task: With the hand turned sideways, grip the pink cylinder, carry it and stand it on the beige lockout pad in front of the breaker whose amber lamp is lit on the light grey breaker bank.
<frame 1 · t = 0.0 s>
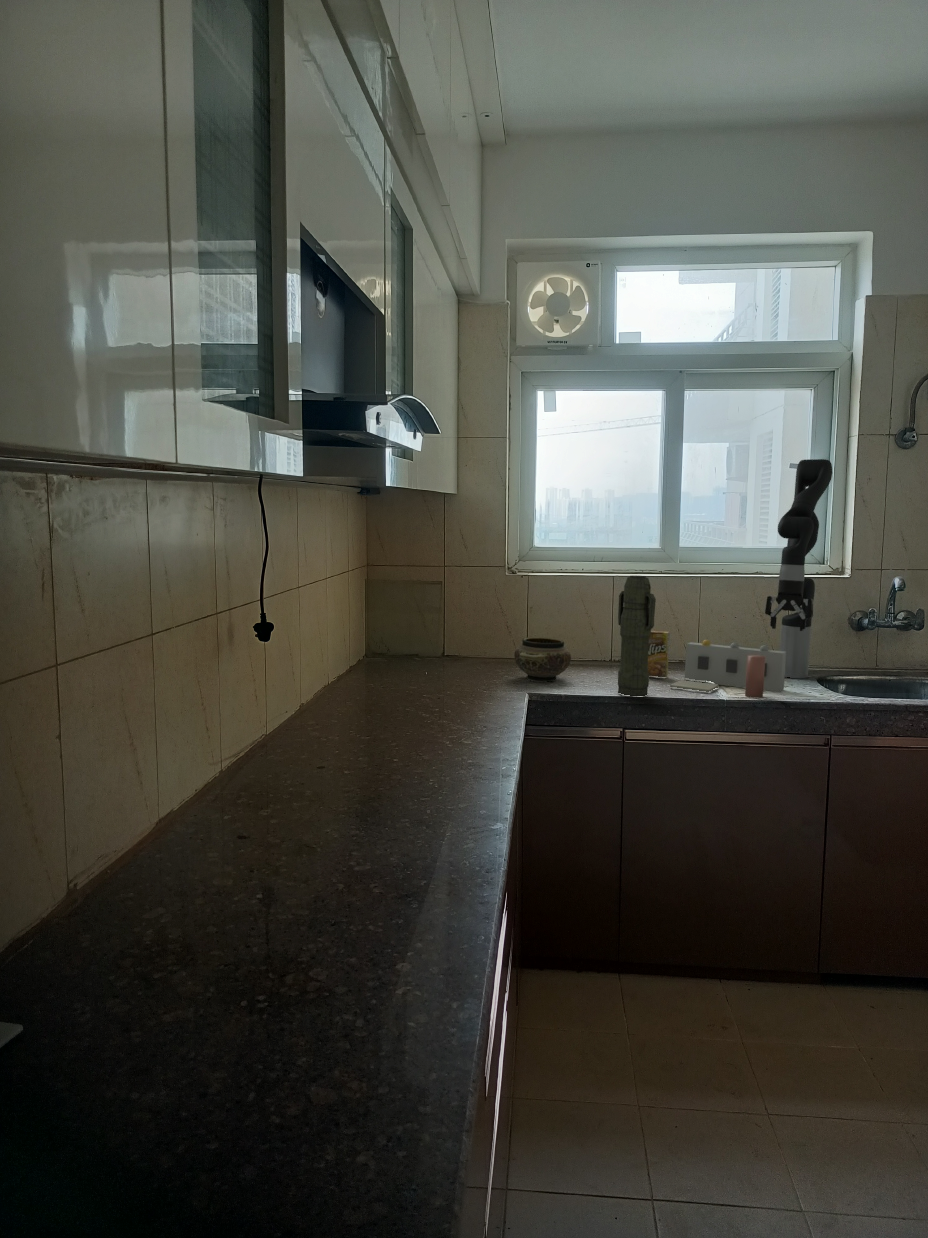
hand: (787, 629, 277), 17 cm above the countertop, tool pointing down, fingers open, 8 cm apart
ceramic bowl: (541, 680, 276), on the countertop
breaker bank: (732, 685, 273), on the countertop
thermos: (632, 694, 256), on the countertop
candy box: (653, 678, 284), on the countertop
lockout pad: (694, 688, 266), on the countertop
pink cylinder: (753, 696, 256), on the countertop
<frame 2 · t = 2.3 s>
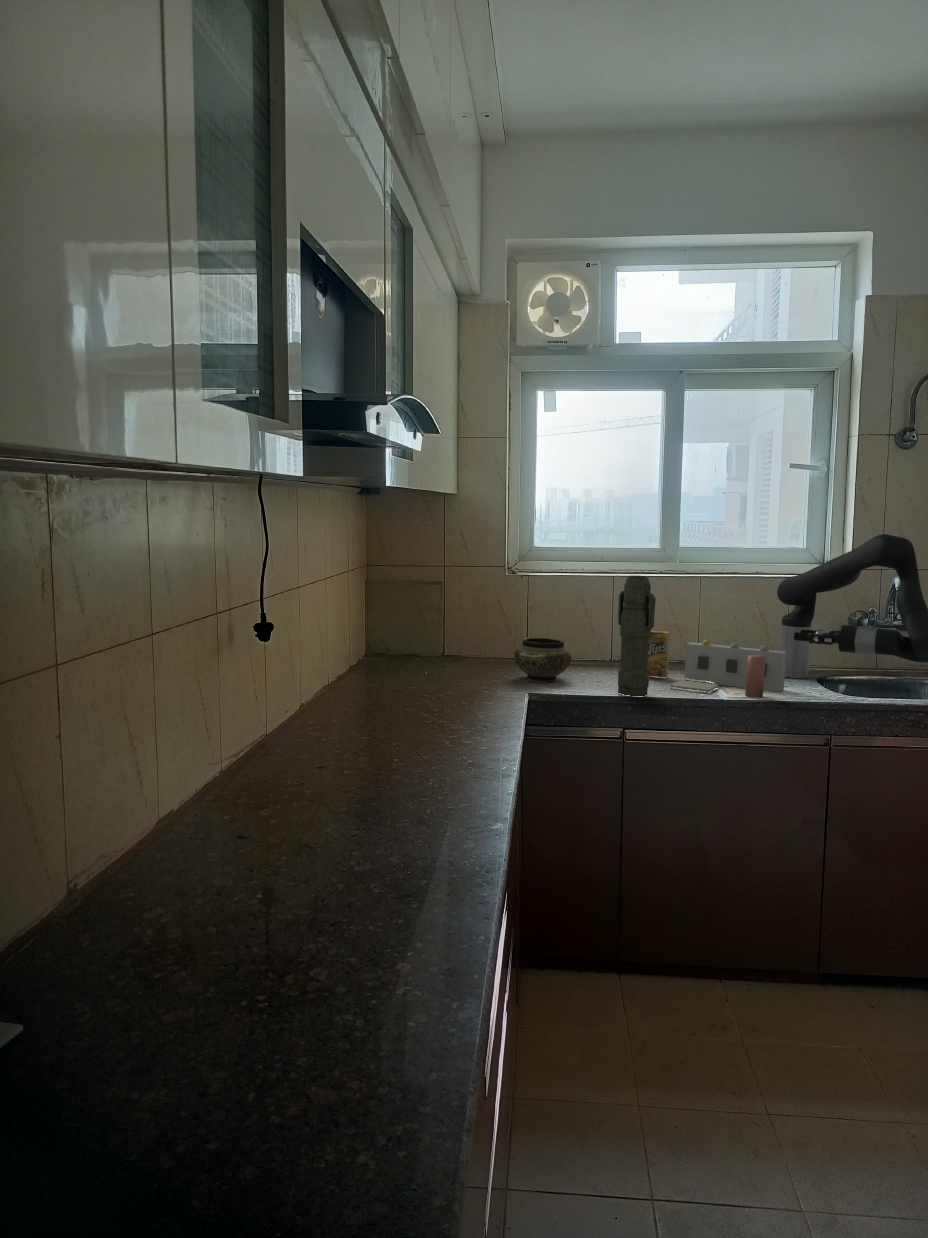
hand: (797, 634, 248), 19 cm above the countertop, tool horizontal, fingers open, 8 cm apart
nothing on the countertop moved.
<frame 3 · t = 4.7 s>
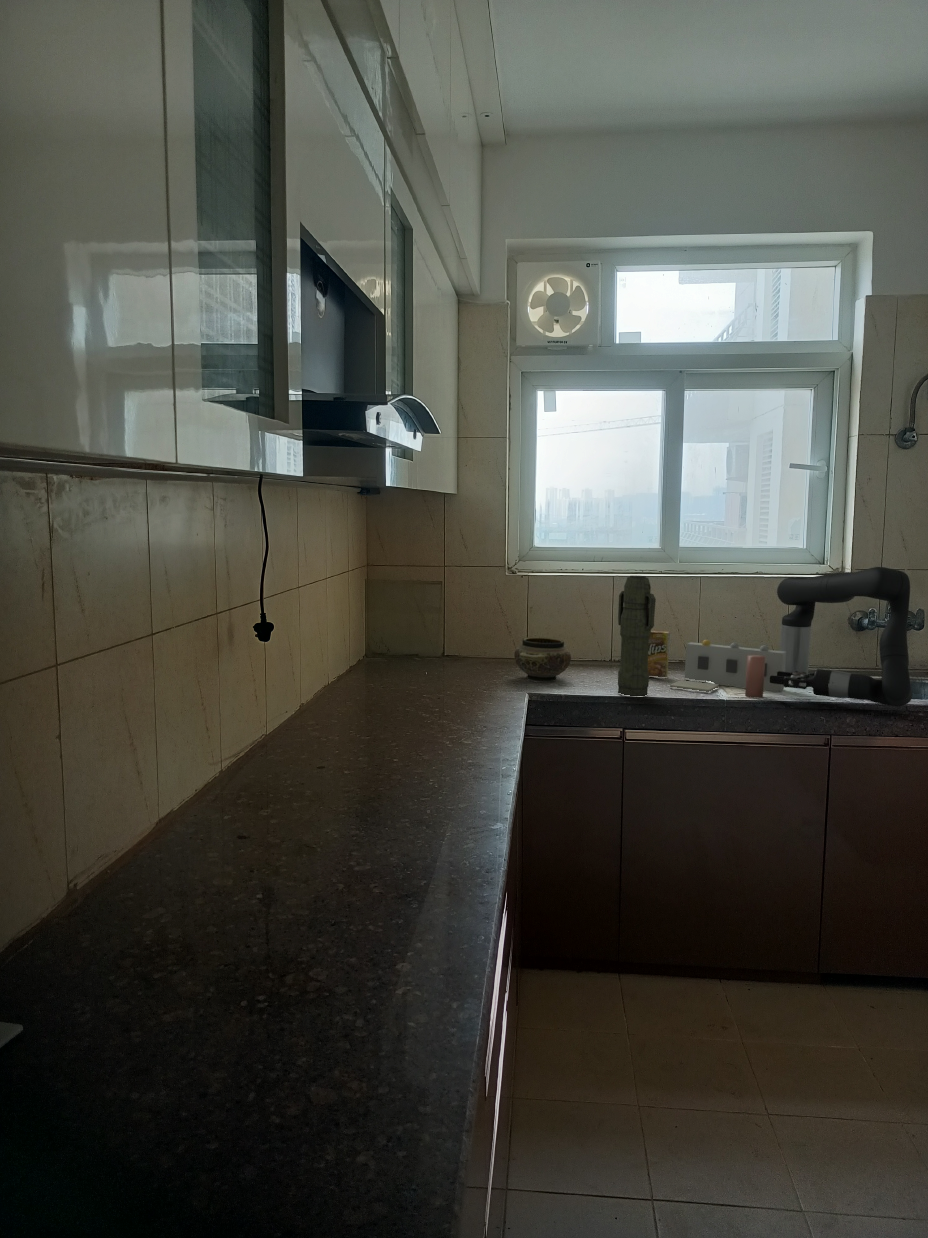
hand: (773, 677, 253), 6 cm above the countertop, tool horizontal, fingers open, 8 cm apart
nothing on the countertop moved.
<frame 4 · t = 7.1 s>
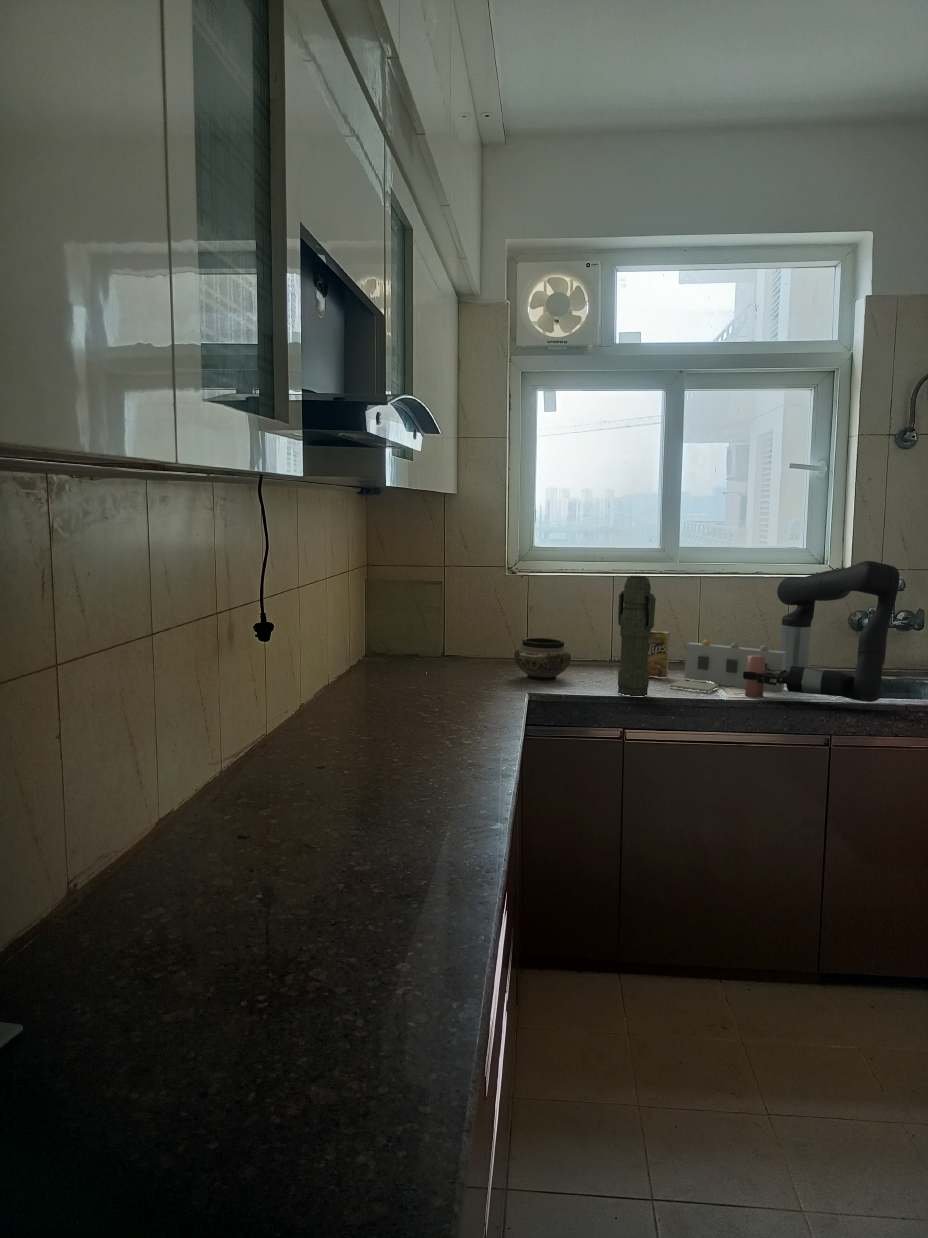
hand: (746, 673, 257), 7 cm above the countertop, tool horizontal, fingers closed on pink cylinder, 5 cm apart
pink cylinder: (753, 696, 256), on the countertop, touching gripper
everything else where it was.
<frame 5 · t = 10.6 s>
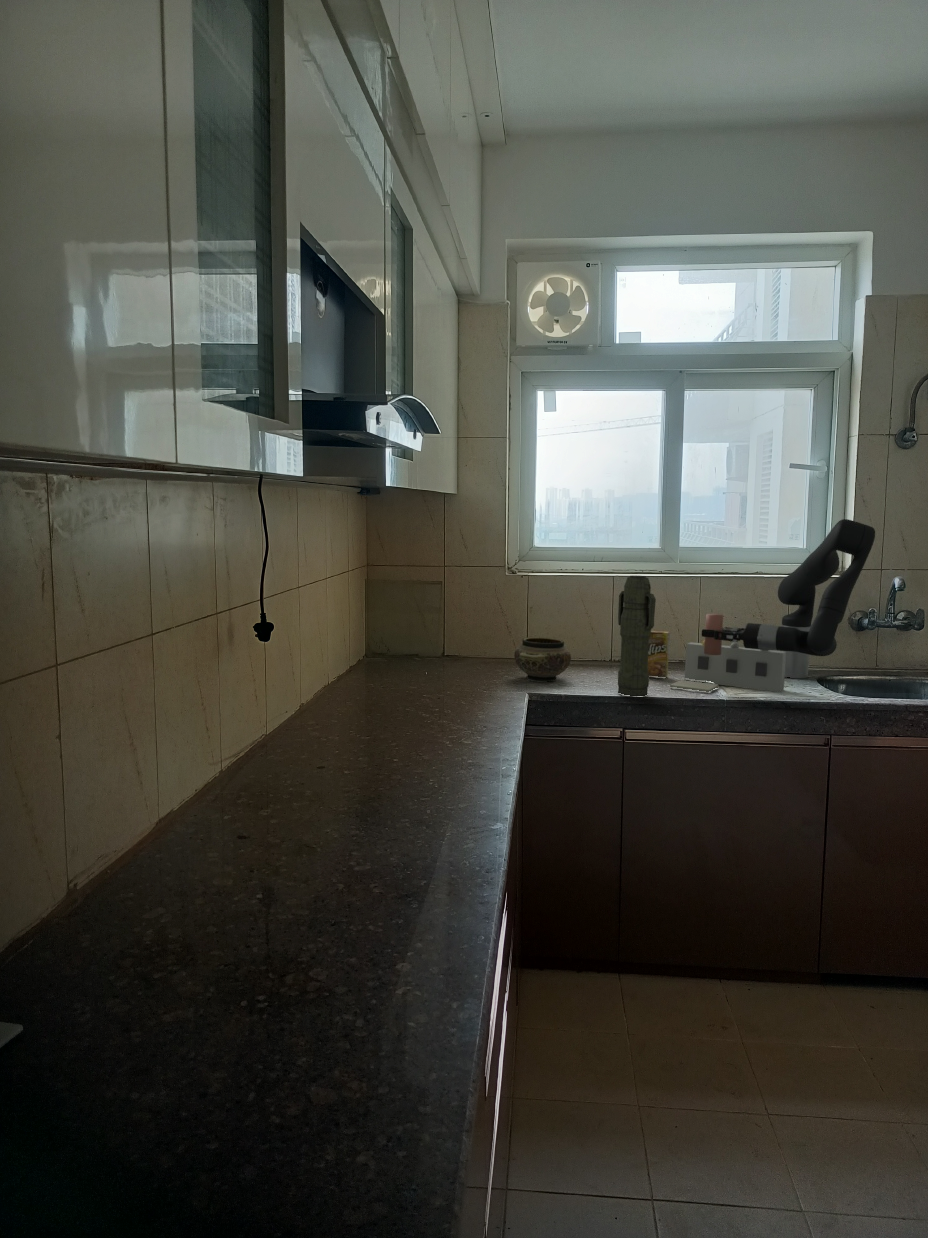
hand: (705, 631, 262), 18 cm above the countertop, tool horizontal, fingers closed on pink cylinder, 5 cm apart
pink cylinder: (712, 653, 262), point 11 cm above the countertop, touching gripper
everything else where it was.
when the fingers open (9 cm above the countertop, at t = 14.1 s): pink cylinder drops 1 cm, resting on lockout pad.
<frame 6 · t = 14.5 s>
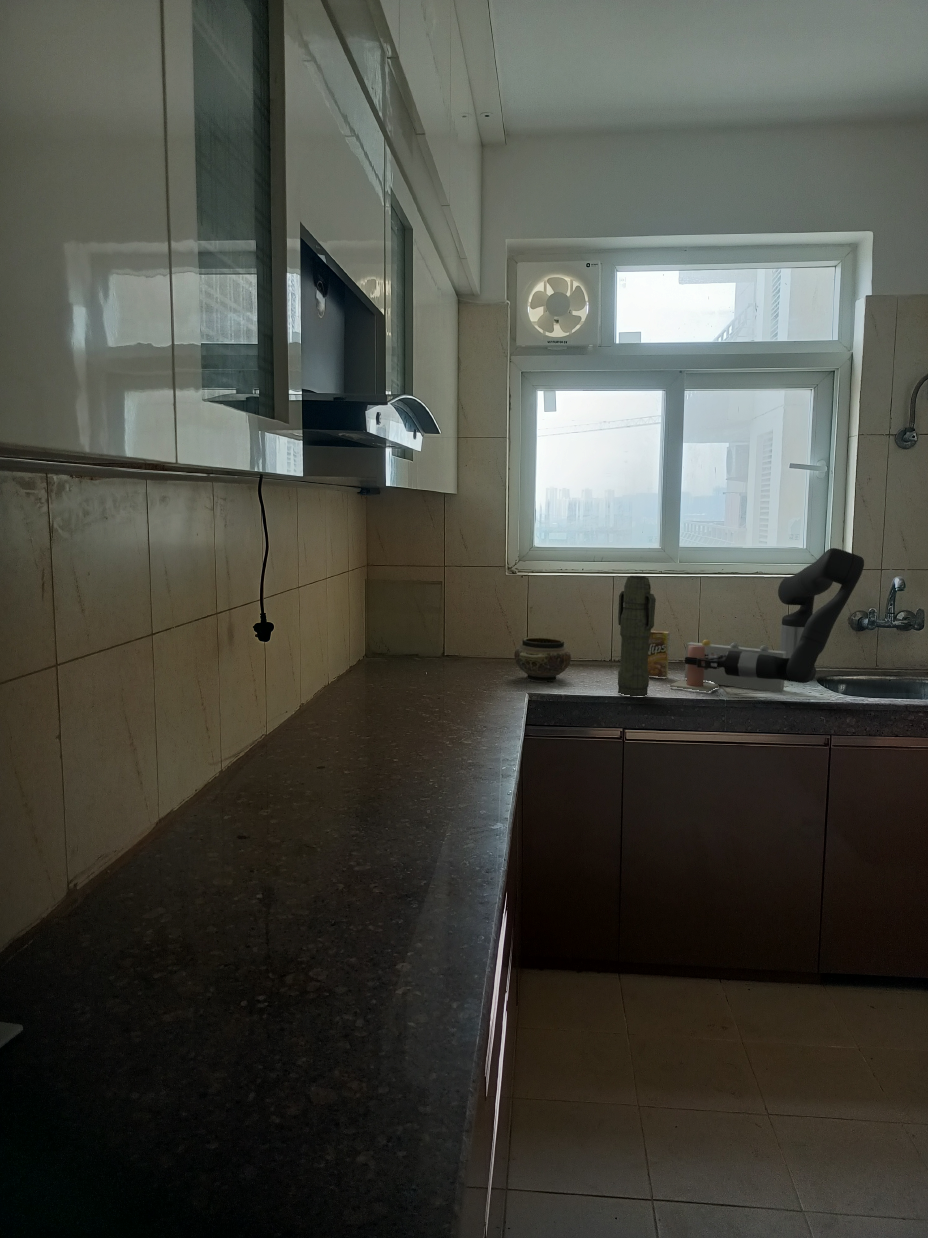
hand: (689, 658, 266), 9 cm above the countertop, tool horizontal, fingers open, 8 cm apart
pink cylinder: (694, 684, 266), point 1 cm above the countertop, touching lockout pad
everything else where it was.
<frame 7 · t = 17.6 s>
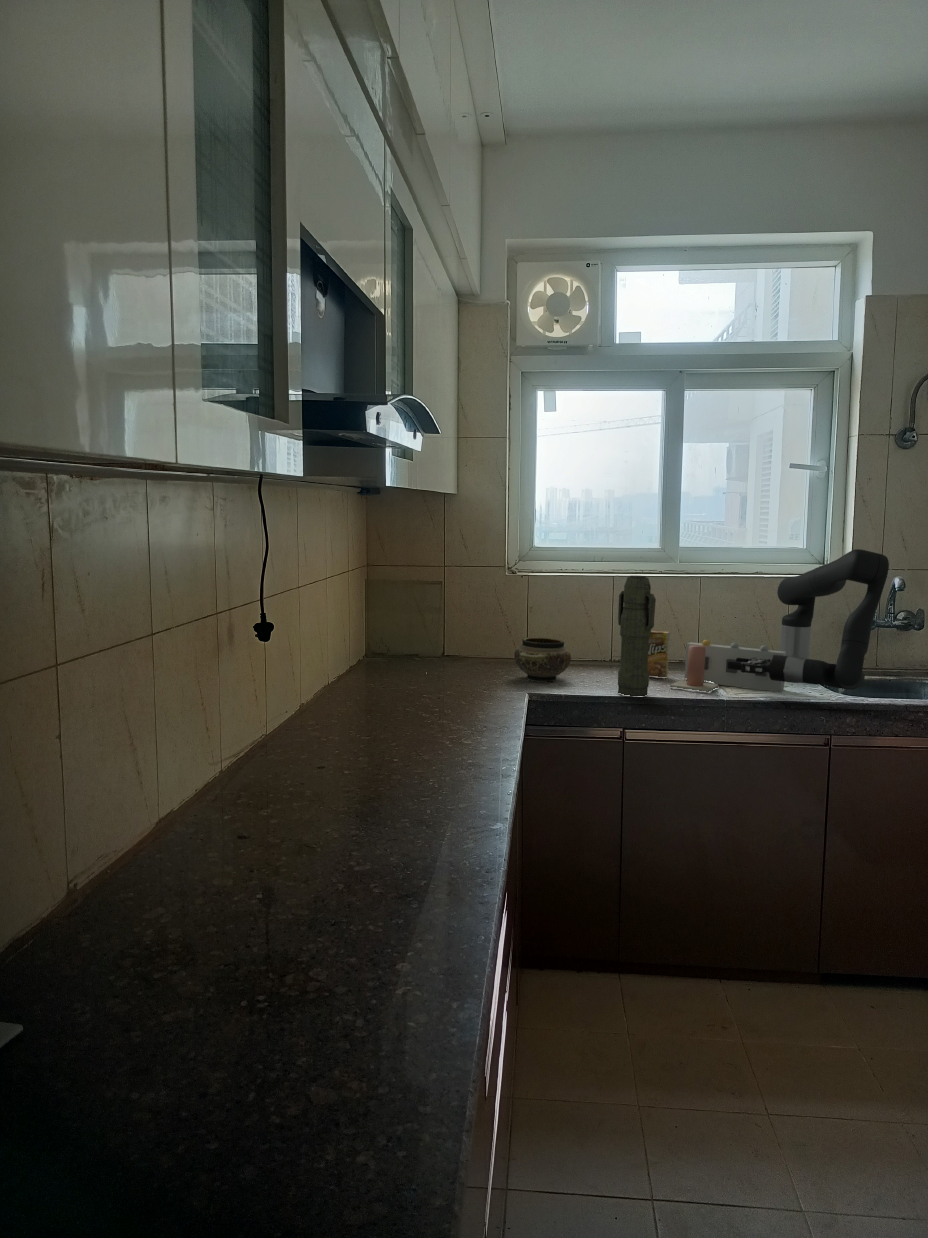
hand: (732, 663, 259), 9 cm above the countertop, tool horizontal, fingers open, 8 cm apart
nothing on the countertop moved.
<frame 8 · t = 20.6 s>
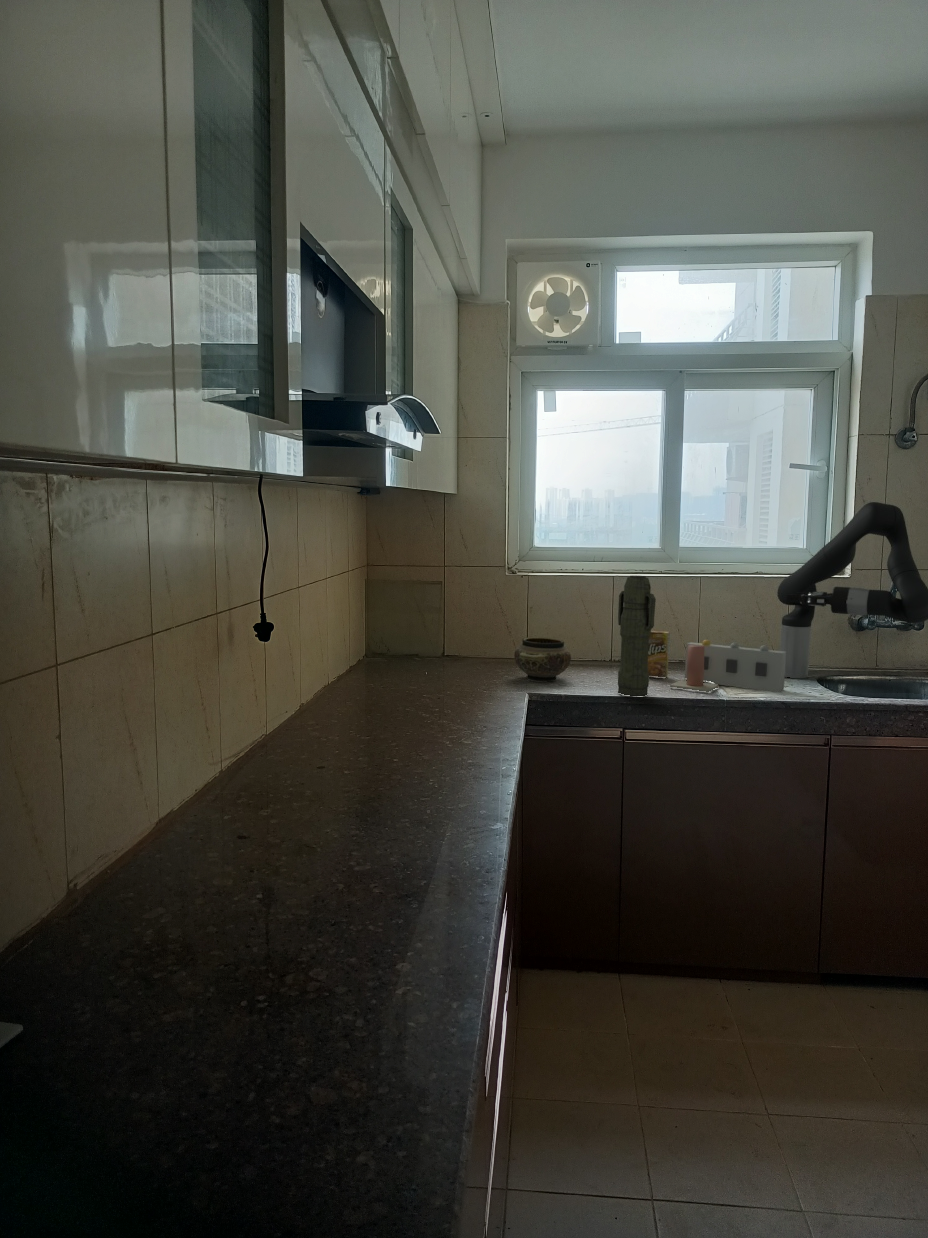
hand: (790, 597, 250), 30 cm above the countertop, tool horizontal, fingers open, 8 cm apart
nothing on the countertop moved.
at the end: pink cylinder inside the target area on the lockout pad (0.1 cm from its centre), point 1.3 cm above the lockout pad's base; pink cylinder tilted 1°; the gripper is holding nothing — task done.
